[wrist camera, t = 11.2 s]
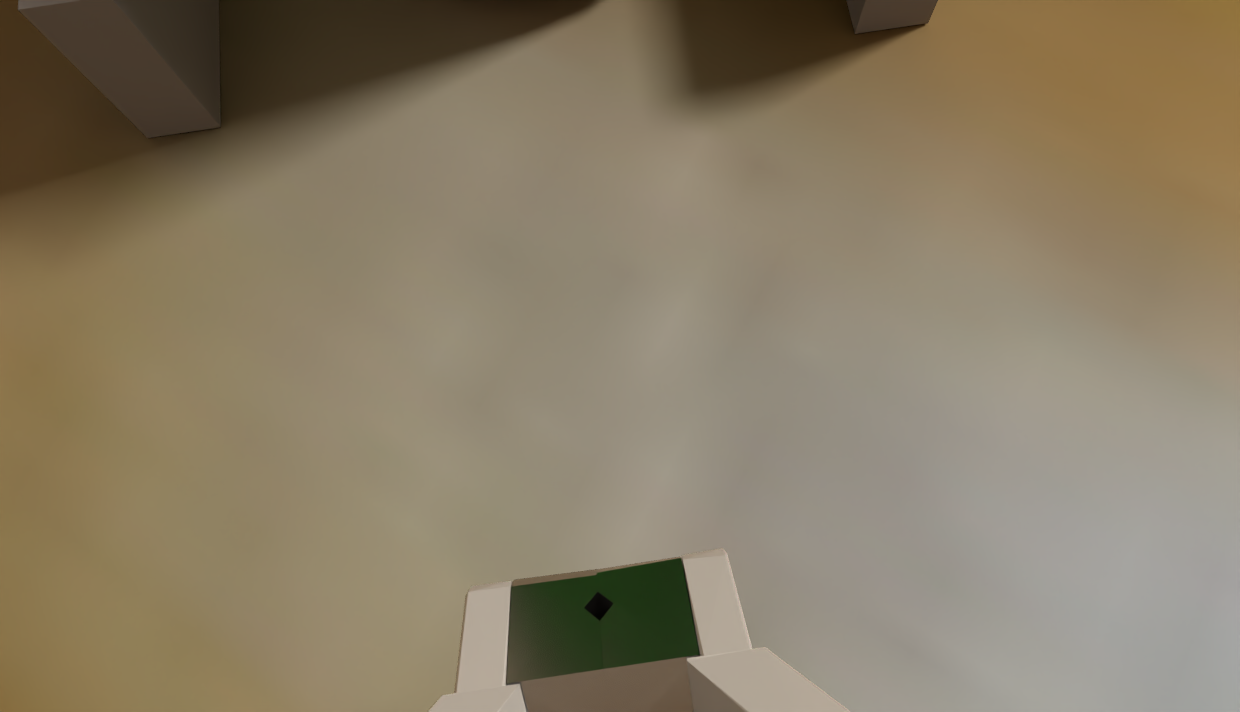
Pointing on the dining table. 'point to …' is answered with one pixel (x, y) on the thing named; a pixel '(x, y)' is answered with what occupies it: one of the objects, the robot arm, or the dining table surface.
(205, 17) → the frame
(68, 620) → the dining table surface
